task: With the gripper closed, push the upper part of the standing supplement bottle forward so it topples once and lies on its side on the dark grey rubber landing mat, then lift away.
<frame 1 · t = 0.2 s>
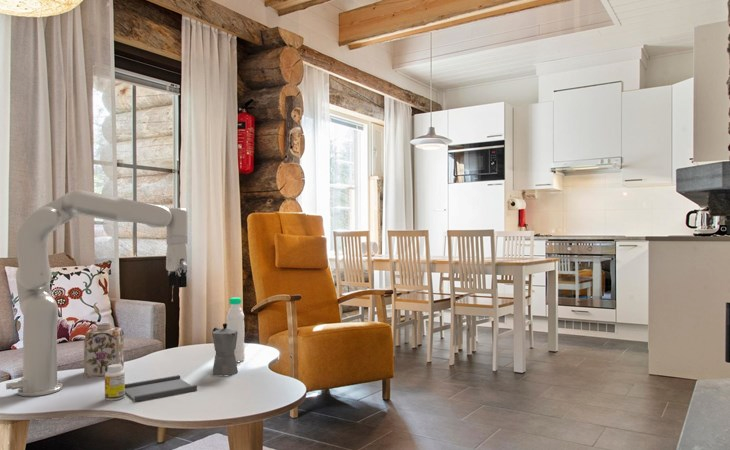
hand: (177, 286, 205), 31 cm above the table, fingers open, 9 cm apart
decorative jar: (104, 373, 201), on the table
supplement bottle: (114, 399, 169), on the table
coffeepot: (223, 373, 199), on the table
landing mat: (158, 389, 178), on the table
water bottle: (235, 361, 217), on the table
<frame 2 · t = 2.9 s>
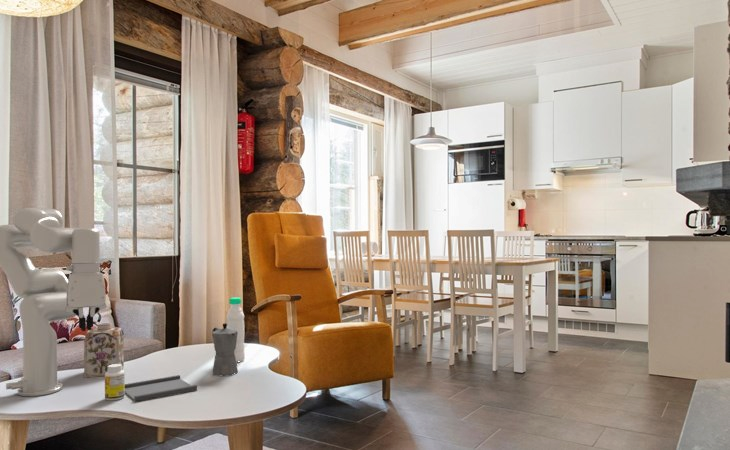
hand: (86, 329, 165), 22 cm above the table, fingers closed
nothing on the table moved.
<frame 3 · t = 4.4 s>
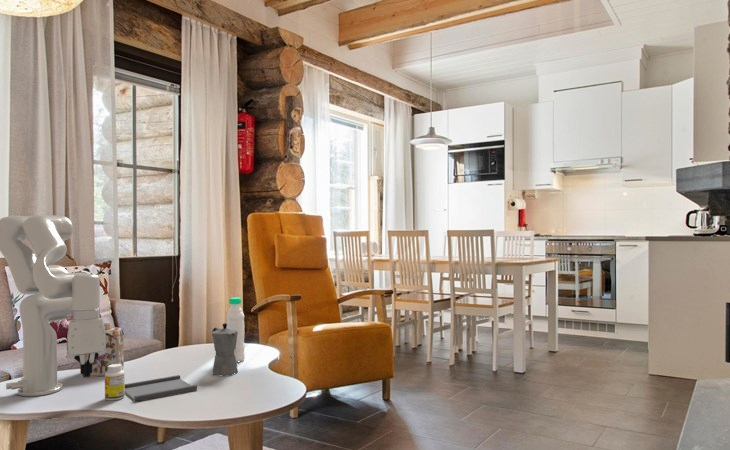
hand: (86, 376, 164), 8 cm above the table, fingers closed
nothing on the table moved.
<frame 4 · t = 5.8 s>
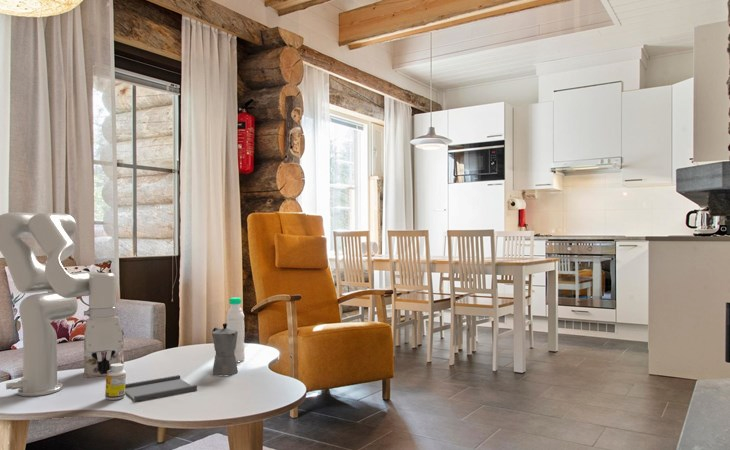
hand: (103, 373, 167), 8 cm above the table, fingers closed
supplement bottle: (114, 398, 169), on the table, touching gripper
everything else where it was.
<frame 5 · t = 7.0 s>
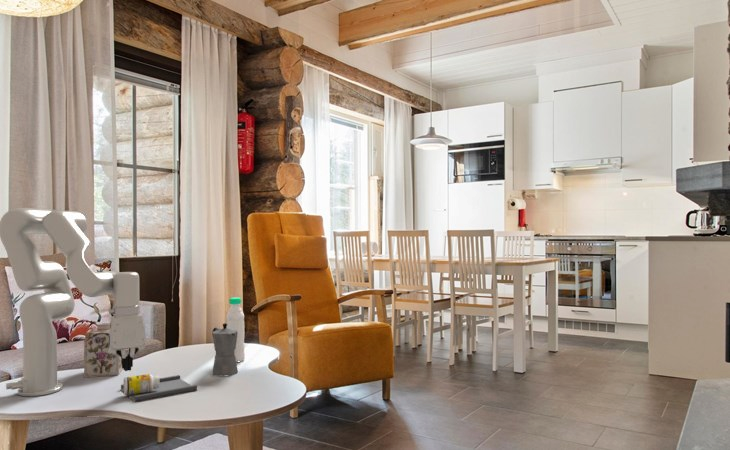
hand: (127, 369, 172), 8 cm above the table, fingers closed
supplement bottle: (123, 386, 171), point 3 cm above the table, touching landing mat
everything else where it was.
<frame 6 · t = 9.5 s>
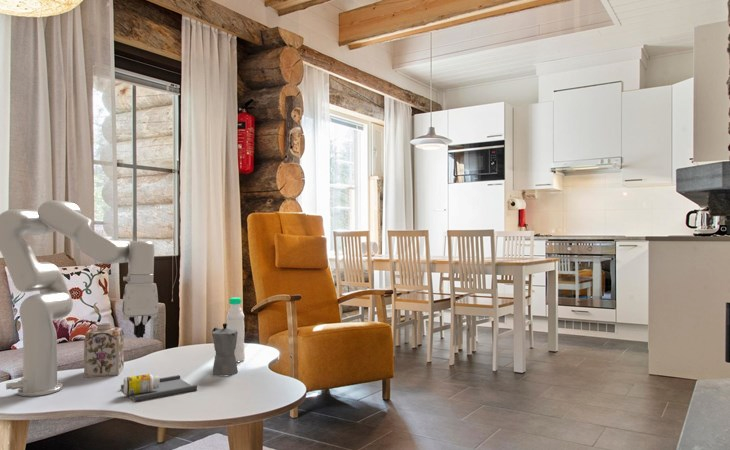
hand: (139, 336, 174), 18 cm above the table, fingers closed
nothing on the table moved.
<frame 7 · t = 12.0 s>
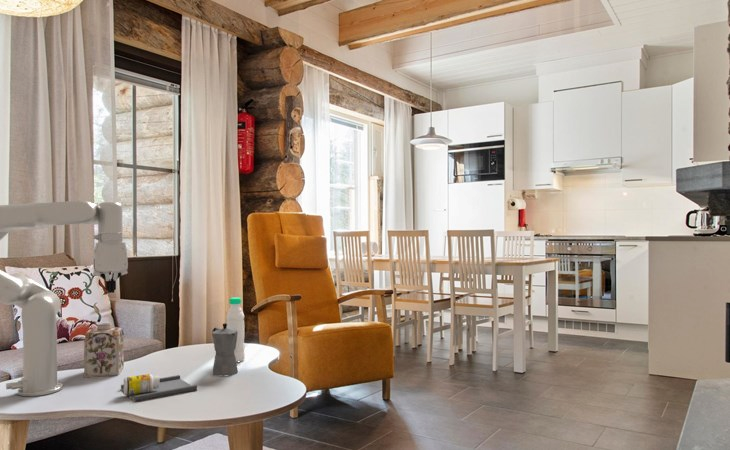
hand: (110, 292, 186), 31 cm above the table, fingers closed
nothing on the table moved.
at the end: supplement bottle tilted 90°; supplement bottle inside the target area (4.7 cm from its centre), point 3.3 cm above the table; the gripper is holding nothing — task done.
